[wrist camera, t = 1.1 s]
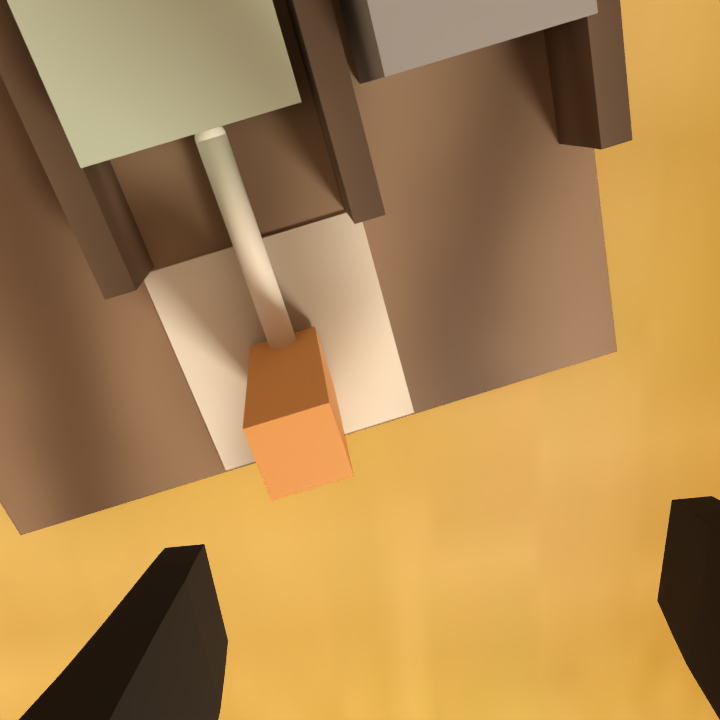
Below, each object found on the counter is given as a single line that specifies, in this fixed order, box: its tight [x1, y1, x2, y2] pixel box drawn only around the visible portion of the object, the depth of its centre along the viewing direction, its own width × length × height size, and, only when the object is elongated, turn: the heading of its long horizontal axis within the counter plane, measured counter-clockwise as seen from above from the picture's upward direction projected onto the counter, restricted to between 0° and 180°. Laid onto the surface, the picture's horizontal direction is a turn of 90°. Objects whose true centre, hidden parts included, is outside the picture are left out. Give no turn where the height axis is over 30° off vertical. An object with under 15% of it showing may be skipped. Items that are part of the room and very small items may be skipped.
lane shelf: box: [0, 0, 632, 535], centre depth 16 cm, size 20×18×4 cm
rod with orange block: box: [7, 0, 354, 501], centre depth 14 cm, size 5×14×5 cm, turn 15°
